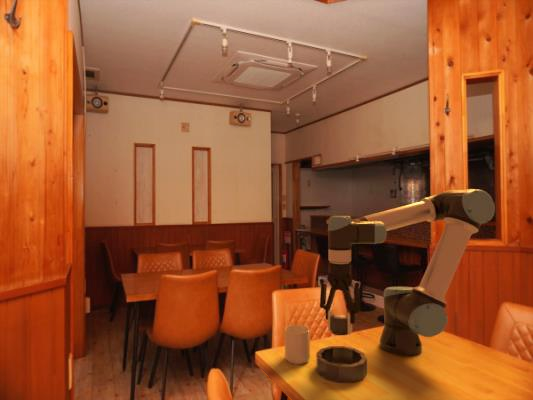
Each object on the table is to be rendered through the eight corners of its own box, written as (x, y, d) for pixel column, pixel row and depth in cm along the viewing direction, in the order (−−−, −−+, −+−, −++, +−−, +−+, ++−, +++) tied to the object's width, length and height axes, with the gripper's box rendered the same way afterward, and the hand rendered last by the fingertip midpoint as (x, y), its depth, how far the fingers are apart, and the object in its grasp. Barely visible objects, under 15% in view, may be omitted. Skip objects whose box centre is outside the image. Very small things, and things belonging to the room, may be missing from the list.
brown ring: (359, 360, 129) (359, 345, 129) (371, 382, 113) (371, 366, 113) (314, 360, 129) (314, 345, 129) (320, 382, 113) (320, 366, 114)
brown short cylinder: (347, 328, 125) (347, 313, 125) (350, 335, 119) (350, 319, 119) (329, 329, 125) (329, 313, 125) (332, 335, 119) (332, 319, 119)
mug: (310, 365, 125) (310, 333, 125) (284, 365, 126) (284, 333, 126) (309, 351, 137) (308, 321, 137) (285, 351, 138) (285, 321, 138)
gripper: (371, 262, 120) (371, 332, 120) (317, 258, 130) (317, 323, 130) (365, 266, 114) (365, 340, 114) (309, 261, 123) (309, 329, 123)
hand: (340, 331), depth 122 cm, fingers closed on brown short cylinder, 6 cm apart
